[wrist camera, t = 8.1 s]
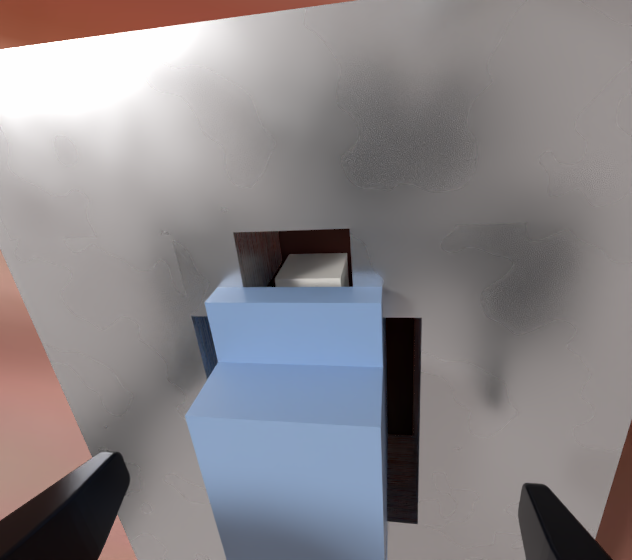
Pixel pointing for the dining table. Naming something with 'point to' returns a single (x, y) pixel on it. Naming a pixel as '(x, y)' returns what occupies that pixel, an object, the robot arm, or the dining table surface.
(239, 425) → the block
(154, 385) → the mount plate
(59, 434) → the dining table surface
